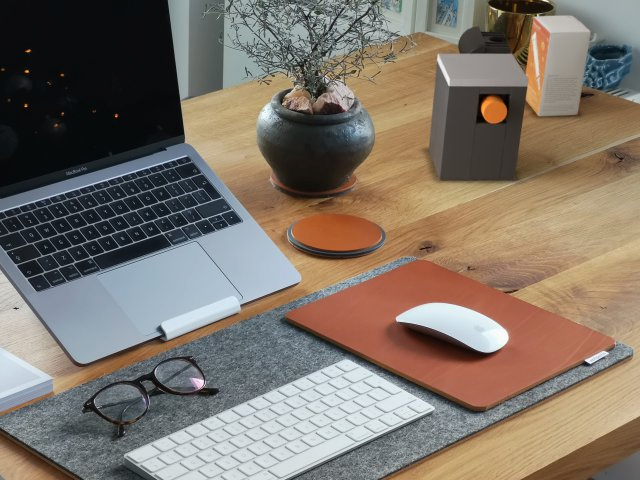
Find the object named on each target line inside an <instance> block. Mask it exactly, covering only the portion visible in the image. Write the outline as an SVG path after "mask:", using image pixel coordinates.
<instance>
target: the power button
mask: <svg viewBox="0 0 640 480" xmlns="http://www.w3.org/2000/svg"><path fill="white" fill-rule="evenodd" d="M480 110H481V112H482V114H483V116H484V118H485V120H486V121H487V122H489V123H492V124H495V123H499V122H501V121H502V120H504V118H505V117H506V115H507V108H506V106H505V104H504V102H503V100H502V99H501V97H499V96H498V95H495V94H491V95H488V96H486V97H484V98H483V99H482V101H481V103H480Z"/></svg>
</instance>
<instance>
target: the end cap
mask: <svg viewBox="0 0 640 480" xmlns="http://www.w3.org/2000/svg"><path fill="white" fill-rule="evenodd" d="M506 38H507V36H506V34H505V32H504V31H481V28H480V26H479V25H478V26H473V27H470V28H467V29H466V30H465V31H464V32H462V34H461V36H460V37H459V39H458V43H457V48H458V52H459V53H458V54H511V46H510V43H509V42H507V41H505V40H506Z"/></svg>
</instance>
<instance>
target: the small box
mask: <svg viewBox="0 0 640 480" xmlns="http://www.w3.org/2000/svg"><path fill="white" fill-rule="evenodd" d="M591 34H592V31H591V30H590V29H589V28H588V27H586V26H585V24H584V23H583V22H581V21H580V20H579V19H577V18H576V17H575V16H574V15H540V16H533V18H532V26H531V33H530V40H529V48H528V53H527V61H526V67H525V75H526V76H527V78H528V79H529V80H528V86H527V94H526V101H525V102H526V103H527V104H528V106H530V107H531V109H532V110H533V111H534V112H535V113H536V115H537V116H538V117H556V116H577V115H578V114H579V108H580V102H581V96H582V90H583V84H584V77H585V73H586V65H587V59H588V53H589V46H590V41H591Z"/></svg>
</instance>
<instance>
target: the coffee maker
mask: <svg viewBox="0 0 640 480" xmlns="http://www.w3.org/2000/svg"><path fill="white" fill-rule="evenodd" d="M435 68H436V69H435V77H434V91H433V99H432V100H433V101H432V112H431V121H430V134H429V141H428V142H429V143H428V152H429V155H430V158H431V161H432V163H433V166H434V168H435V171H436V174H437V177H438V180H439V181H515V179H516V173H517V167H518V165H517V164H518V159H519V151H520V144H521V136H522V131H523V122H524V115H525V110H526V109H525V108H526V102H527V101H526V94H527V86H528V80H529V79H528V78H527V76H526V72H525V71H524V70H523V69H522V67H521V65H520V64H519V62H518V60H517V59H516V57H515V56H514V54H513V53H510V54H460V53H437V59H436V67H435ZM491 94H495V95H498V96H499V97H501V99H502V100H503V102H504V104H505V106H506V108H507V115H506V117H505V118H504V120H502V121H501V122H499V123H495V124H492V123H489V122H487V121H486V120H485V118H484V116H483V114H482V112H481V110H480V103H481V101H482V99H483V98H484V97H486V96H488V95H491Z"/></svg>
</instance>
